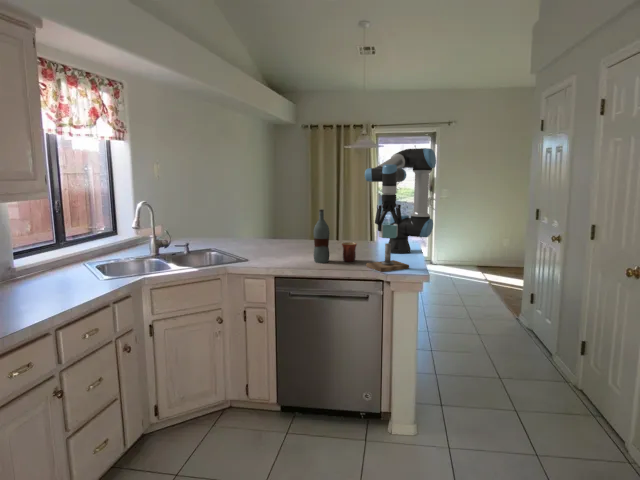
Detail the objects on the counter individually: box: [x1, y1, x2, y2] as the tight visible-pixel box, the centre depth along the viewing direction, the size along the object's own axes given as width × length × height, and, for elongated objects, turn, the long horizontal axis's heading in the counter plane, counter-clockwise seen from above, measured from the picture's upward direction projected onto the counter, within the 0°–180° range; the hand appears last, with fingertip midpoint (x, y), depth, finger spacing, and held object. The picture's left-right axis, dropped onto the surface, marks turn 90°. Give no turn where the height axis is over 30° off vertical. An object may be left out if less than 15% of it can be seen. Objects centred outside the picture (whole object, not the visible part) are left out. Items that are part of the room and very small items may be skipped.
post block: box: [366, 242, 410, 273], centre depth 243 cm, size 18×14×13 cm
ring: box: [382, 224, 397, 239], centre depth 241 cm, size 8×8×6 cm
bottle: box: [313, 208, 330, 264], centre depth 258 cm, size 9×9×30 cm
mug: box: [341, 241, 358, 263], centre depth 259 cm, size 12×9×10 cm
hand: (388, 236), depth 242 cm, fingers closed on ring, 8 cm apart
